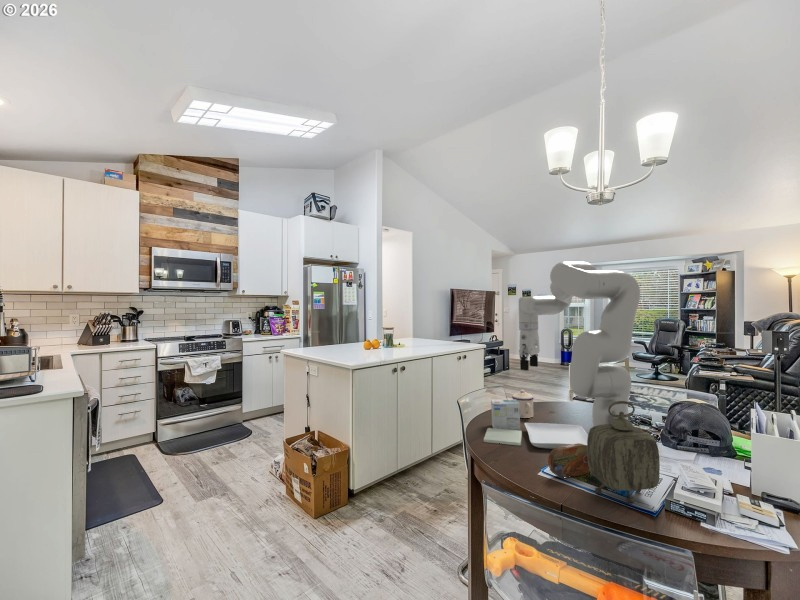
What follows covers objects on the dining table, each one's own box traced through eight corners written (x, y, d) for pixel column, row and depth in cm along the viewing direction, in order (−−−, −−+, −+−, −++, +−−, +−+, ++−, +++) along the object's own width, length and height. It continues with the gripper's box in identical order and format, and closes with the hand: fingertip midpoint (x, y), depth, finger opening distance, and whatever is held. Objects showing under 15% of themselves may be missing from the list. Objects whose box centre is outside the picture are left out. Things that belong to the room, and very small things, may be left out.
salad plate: (598, 455, 125) (597, 444, 125) (531, 451, 129) (530, 441, 129) (580, 433, 145) (580, 424, 146) (523, 430, 150) (523, 422, 150)
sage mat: (520, 445, 133) (520, 442, 133) (483, 441, 138) (483, 439, 138) (521, 433, 146) (521, 430, 146) (487, 430, 150) (487, 427, 150)
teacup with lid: (509, 413, 171) (508, 388, 171) (528, 412, 172) (527, 387, 172) (520, 422, 159) (519, 394, 159) (540, 420, 160) (540, 393, 160)
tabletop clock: (640, 488, 102) (637, 396, 102) (665, 507, 92) (662, 405, 93) (587, 491, 101) (585, 398, 101) (607, 509, 92) (604, 407, 92)
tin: (554, 480, 107) (552, 451, 107) (546, 476, 110) (545, 447, 110) (596, 472, 111) (595, 443, 111) (588, 468, 114) (587, 440, 114)
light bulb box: (517, 425, 156) (516, 398, 156) (520, 430, 149) (520, 403, 149) (491, 424, 157) (490, 398, 157) (493, 430, 150) (492, 403, 150)
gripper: (529, 328, 145) (530, 372, 145) (545, 325, 158) (546, 365, 159) (510, 327, 150) (511, 370, 150) (527, 324, 163) (528, 364, 163)
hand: (529, 368), depth 154 cm, fingers open, 9 cm apart
